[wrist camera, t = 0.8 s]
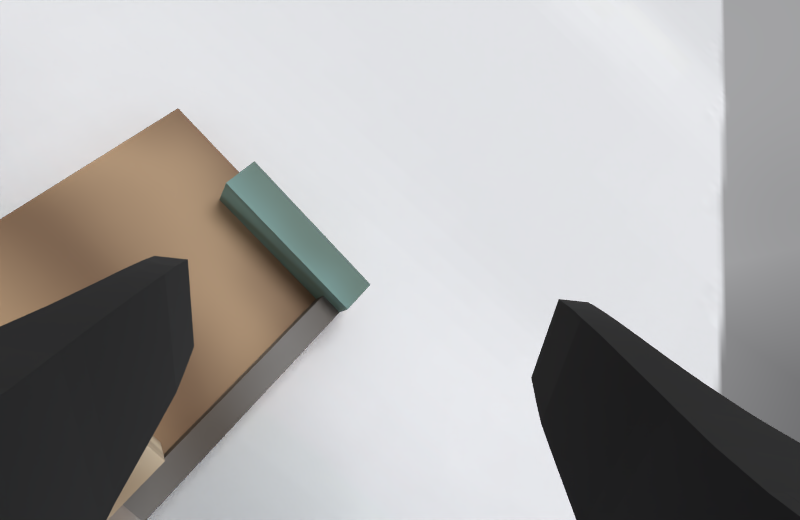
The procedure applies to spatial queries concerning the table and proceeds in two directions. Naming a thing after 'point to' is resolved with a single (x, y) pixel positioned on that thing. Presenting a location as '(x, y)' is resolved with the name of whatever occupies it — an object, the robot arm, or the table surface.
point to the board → (208, 273)
